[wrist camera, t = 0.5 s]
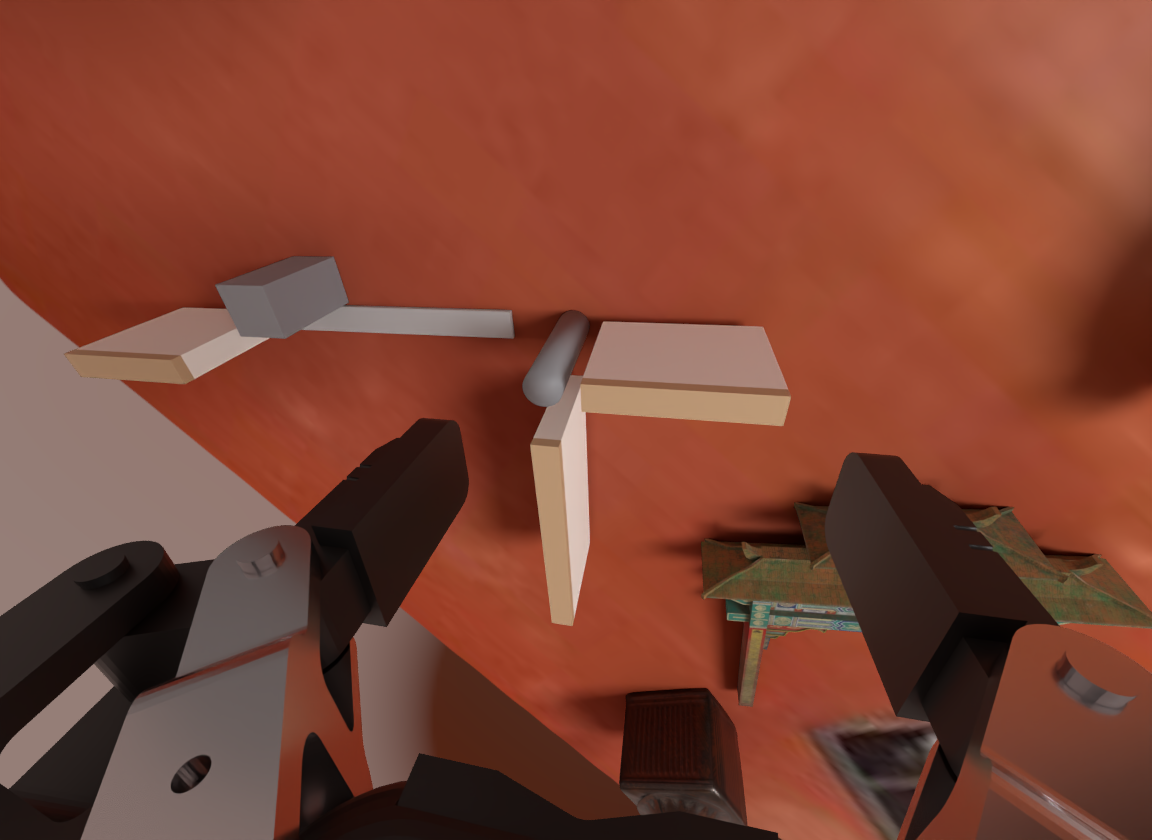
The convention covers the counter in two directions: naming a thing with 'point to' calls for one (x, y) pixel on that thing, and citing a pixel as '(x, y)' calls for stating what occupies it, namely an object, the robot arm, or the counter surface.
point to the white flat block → (563, 499)
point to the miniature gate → (819, 601)
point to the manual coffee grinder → (681, 756)
